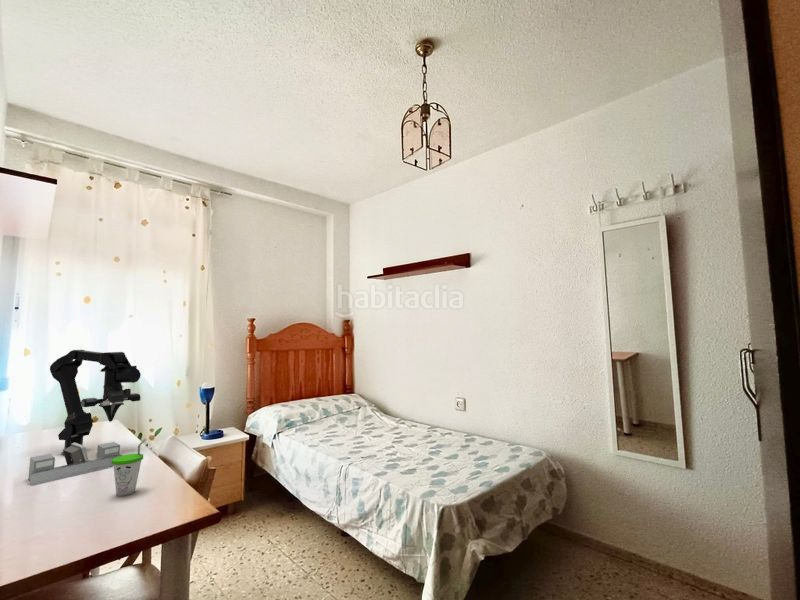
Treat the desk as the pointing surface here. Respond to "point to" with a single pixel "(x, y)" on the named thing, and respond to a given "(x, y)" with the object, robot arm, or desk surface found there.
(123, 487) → the cup
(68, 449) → the electrical switch
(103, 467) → the rail
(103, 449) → the mounted modules
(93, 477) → the desk surface
